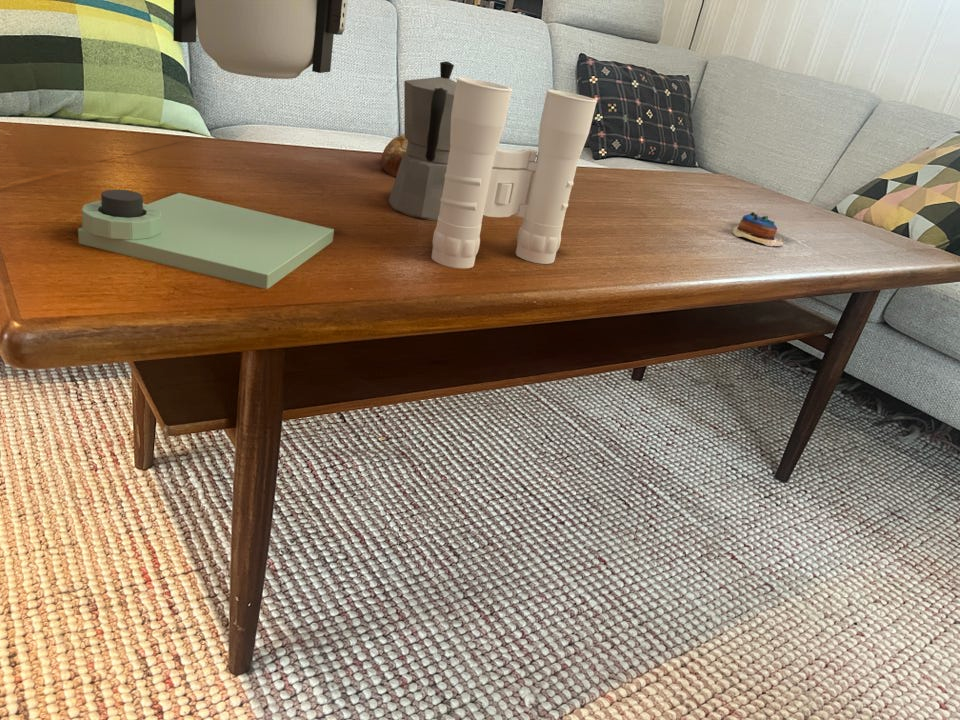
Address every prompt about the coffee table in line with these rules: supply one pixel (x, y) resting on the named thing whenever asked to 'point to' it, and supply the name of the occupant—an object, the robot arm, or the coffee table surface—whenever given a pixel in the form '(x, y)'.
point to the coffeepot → (425, 145)
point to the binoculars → (508, 173)
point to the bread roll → (394, 154)
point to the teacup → (258, 35)
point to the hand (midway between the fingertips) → (252, 57)
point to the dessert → (757, 230)
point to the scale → (207, 238)
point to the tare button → (122, 203)
